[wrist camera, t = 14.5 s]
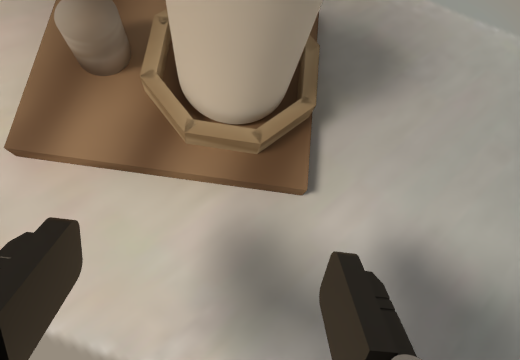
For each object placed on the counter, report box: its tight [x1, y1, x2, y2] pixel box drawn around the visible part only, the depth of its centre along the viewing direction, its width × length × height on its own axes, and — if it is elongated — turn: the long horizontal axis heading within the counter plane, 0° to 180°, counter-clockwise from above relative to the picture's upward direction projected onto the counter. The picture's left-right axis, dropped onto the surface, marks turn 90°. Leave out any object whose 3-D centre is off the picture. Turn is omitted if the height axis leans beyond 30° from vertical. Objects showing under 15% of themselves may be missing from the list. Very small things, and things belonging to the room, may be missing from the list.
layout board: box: [4, 0, 320, 195], centre depth 20 cm, size 16×13×4 cm
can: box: [166, 0, 323, 124], centre depth 15 cm, size 6×6×12 cm
